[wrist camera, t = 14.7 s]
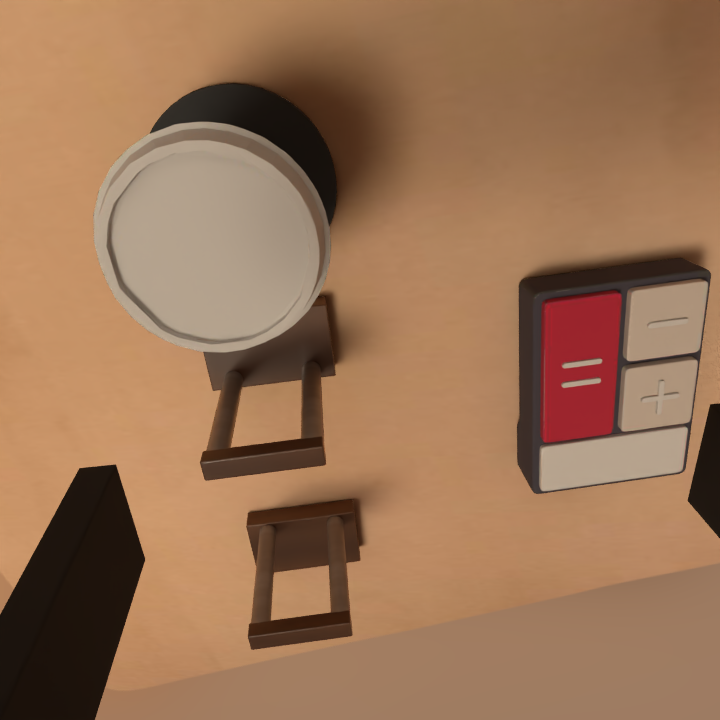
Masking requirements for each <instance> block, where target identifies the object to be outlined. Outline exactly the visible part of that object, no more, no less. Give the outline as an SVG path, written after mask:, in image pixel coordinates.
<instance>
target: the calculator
mask: <svg viewBox="0 0 720 720" xmlns="http://www.w3.org/2000/svg"><path fill="white" fill-rule="evenodd" d="M710 279H711V273H710V271H709V270H707V269H705V268H703V267H701V266H699V265H696V264H694V263H692V262H690V261H688V260H685V259H683V258H675V259H668V260H660V261H653V262H645V263H638V264H631V265H623V266H616V267H609V268H601V269H594V270H587V271H579V272H572V273H565V274H557V275H550V276H542V277H535V278H528V279H524V280H522V281H521V282H520V284H519V386H520V419H519V422H518V425H517V458H518V465H519V467H520V469H521V471H522V473H523V475H524V476H525V478H526V480H527V482H528V484H529V485H530V487H531V489H532V491H533V492H534V493H536V494H541V493H548V492H555V491H562V490H569V489H576V488H583V487H590V486H597V485H604V484H611V483H618V482H625V481H632V480H639V479H646V478H653V477H660V476H667V475H674V474H680V473H682V472H683V471H684V470H685V468H686V462H687V454H688V446H689V439H690V431H691V424H692V416H693V408H694V401H695V393H696V386H697V378H698V370H699V363H700V355H701V348H702V340H703V332H704V325H705V317H706V309H707V302H708V294H709V287H710Z"/></svg>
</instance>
